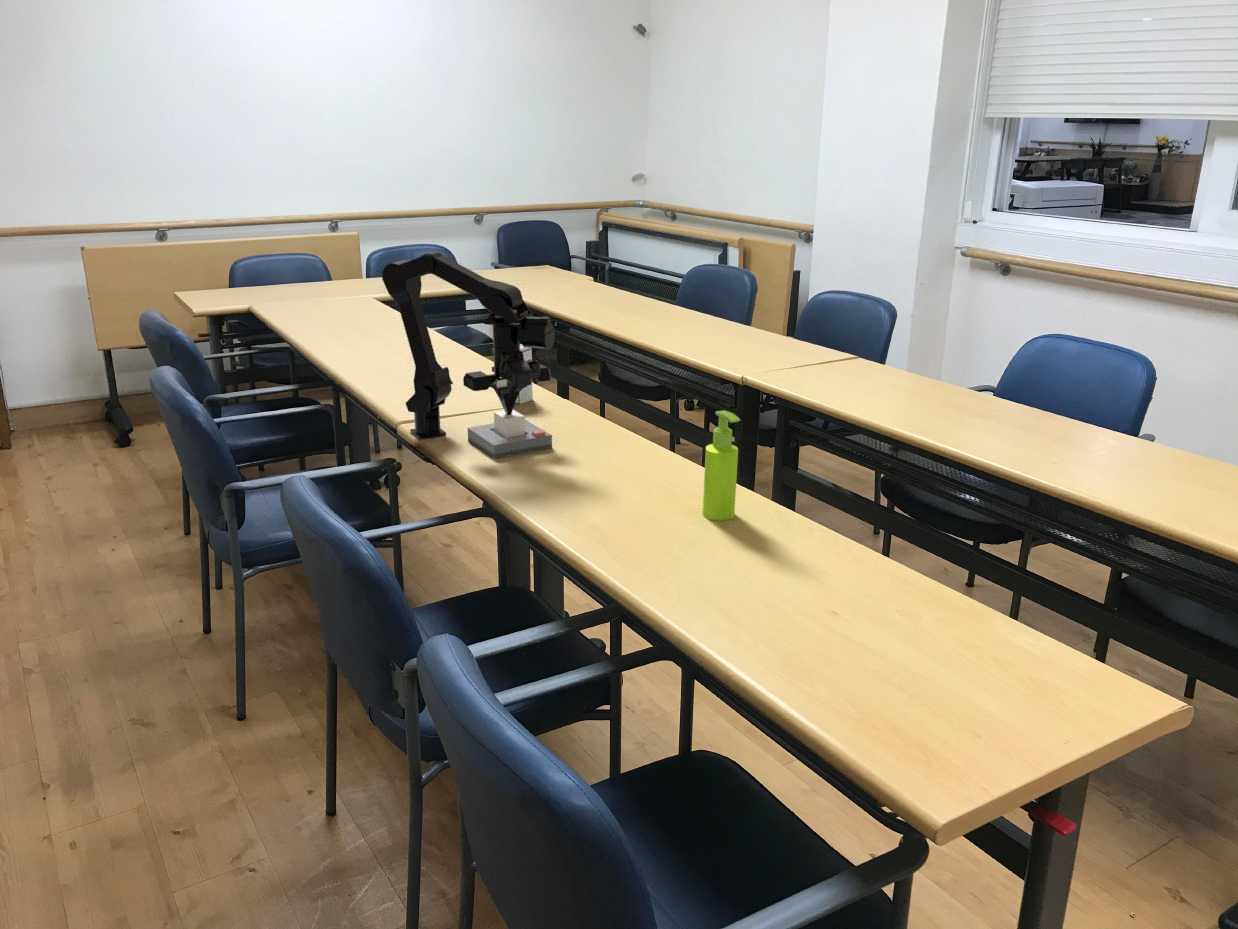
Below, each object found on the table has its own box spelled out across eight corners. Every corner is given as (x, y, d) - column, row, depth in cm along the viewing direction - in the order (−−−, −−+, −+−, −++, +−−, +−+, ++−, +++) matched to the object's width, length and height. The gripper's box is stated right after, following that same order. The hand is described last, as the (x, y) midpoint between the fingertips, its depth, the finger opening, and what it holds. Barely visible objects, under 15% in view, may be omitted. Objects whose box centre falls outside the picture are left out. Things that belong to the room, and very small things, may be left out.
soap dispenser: (716, 525, 173) (722, 420, 166) (696, 511, 179) (701, 409, 172) (743, 519, 176) (750, 415, 169) (722, 506, 181) (728, 405, 174)
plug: (494, 437, 214) (493, 412, 212) (513, 434, 217) (512, 409, 214) (506, 445, 209) (505, 419, 207) (525, 442, 212) (524, 416, 210)
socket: (468, 440, 215) (467, 424, 214) (523, 430, 222) (523, 415, 221) (494, 458, 204) (494, 442, 203) (552, 447, 211) (551, 432, 210)
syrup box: (533, 399, 247) (532, 344, 242) (519, 405, 242) (518, 349, 237) (516, 396, 249) (515, 341, 244) (502, 401, 245) (500, 346, 240)
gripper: (482, 358, 194) (485, 430, 200) (562, 348, 204) (563, 417, 209) (460, 347, 203) (464, 417, 209) (538, 337, 213) (539, 404, 218)
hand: (508, 414), depth 211 cm, fingers closed, pressing on plug
